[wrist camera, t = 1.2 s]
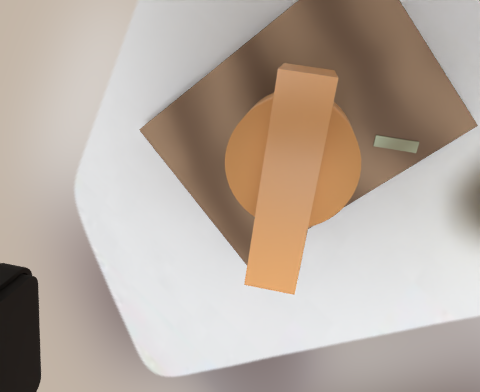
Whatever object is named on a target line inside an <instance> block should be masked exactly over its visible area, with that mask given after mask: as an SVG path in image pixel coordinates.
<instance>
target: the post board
mask: <svg viewBox="0 0 480 392" xmlns="http://www.w3.org/2000/svg"><path fill="white" fill-rule="evenodd" d="M284 63H288V64H295V65H302V66H309V67H315V68H322V69H329V70H335V72H336V74H337V76H338V83H337V88H336V93H335V98H334V102H335V103H336V104H337V105H338V106H339V107H340V108H341V109H342V111H343V112H344V113H345V115H346V116H347V118H348V120H349V122H350V124H351V127H352V129H353V132H354V134H355V137H356V139H357V142H358V145H359V149H360V153H361V173H360V178H359V182H358V185H357V187H356V189H355V192H354V194H353V195H352V197H351V198H350V200H349V201H348V203H347V204H346V205H345V206H347V205H348V204H350V203H352V202H353V201H355V200H357V199H358V198H360V197H362V196H363V195H365V194H366V193H368V192H370V191H371V190H373V189H375V188H376V187H378V186H380V185H381V184H383V183H385V182H386V181H388V180H389V179H391V178H393V177H394V176H396V175H398V174H399V173H401V172H403V171H404V170H406V169H408V168H409V167H411V166H412V165H414V164H416V163H417V162H419V161H421V160H422V159H424V158H426V157H427V156H429V155H431V154H432V153H434V152H435V151H437V150H439V149H440V148H442V147H444V146H445V145H447V144H449V143H450V142H452V141H454V140H455V139H457V138H458V137H460V136H462V135H463V134H465V133H467V132H468V131H470V130H472V129H473V128H475V127H477V126H478V125H477V124H476V122H475V120H474V119H473V117H472V116H471V114H470V112H469V111H468V109H467V108H466V106H465V104H464V103H463V101H462V100H461V98H460V96H459V95H458V93H457V92H456V90H455V88H454V87H453V85H452V84H451V82H450V80H449V79H448V77H447V76H446V74H445V73H444V71H443V69H442V68H441V66H440V65H439V63H438V61H437V60H436V58H435V57H434V55H433V53H432V52H431V50H430V49H429V47H428V45H427V44H426V42H425V41H424V39H423V37H422V36H421V34H420V33H419V31H418V29H417V28H416V26H415V25H414V23H413V21H412V20H411V18H410V17H409V15H408V13H407V12H406V10H405V9H404V7H403V6H402V4H401V2H400V1H399V0H299V1H297V2H296V3H295V4H294V5H292V6H291V7H290V8H289V9H287V10H286V11H285V12H284V13H283V14H281V15H280V16H279V17H278V18H276V19H275V20H274V21H273V22H271V23H270V24H269V25H268V26H267V27H265V28H264V29H263V30H262V31H260V32H259V33H258V34H257V35H255V36H254V37H253V38H252V39H250V40H249V41H248V42H247V43H246V44H244V45H243V46H242V47H241V48H239V49H238V50H237V51H236V52H234V53H233V54H232V55H231V56H230V57H228V58H227V59H226V60H225V61H223V62H222V63H221V64H220V65H218V66H217V67H216V68H215V69H214V70H212V71H211V72H210V73H209V74H207V75H206V76H205V77H204V78H202V79H201V80H200V81H199V82H198V83H196V84H195V85H194V86H193V87H191V88H190V89H189V90H188V91H186V92H185V93H184V94H183V95H181V96H180V97H179V98H178V99H177V100H175V101H174V102H173V103H172V104H170V105H169V106H168V107H167V108H165V109H164V110H163V111H162V112H161V113H159V114H158V115H157V116H156V117H154V118H153V119H152V120H151V121H149V122H148V123H147V124H146V125H145V126H143V127H142V128H141V129H140V131H141V133H142V134H143V135H144V136H145V138H146V139H147V140H148V141H149V143H150V144H151V145H152V146H153V148H154V149H155V150H156V151H157V153H158V154H159V155H160V157H161V158H162V159H163V160H164V162H165V163H166V164H167V165H168V167H169V168H170V169H171V170H172V172H173V173H174V174H175V175H176V177H177V178H178V179H179V180H180V182H181V183H182V184H183V185H184V187H185V188H186V189H187V190H188V192H189V193H190V194H191V196H192V197H193V198H194V199H195V201H196V202H197V203H198V204H199V206H200V207H201V208H202V209H203V211H204V212H205V213H206V214H207V216H208V217H209V218H210V219H211V221H212V222H213V223H214V224H215V226H216V227H217V228H218V229H219V231H220V232H221V233H222V235H223V236H224V237H225V238H226V240H227V241H228V242H229V243H230V245H231V246H232V247H233V248H234V250H235V251H236V252H237V253H238V255H239V256H240V257H241V258H242V260H243V261H244V262H245V263H246V265H247V264H248V258H249V252H250V245H251V239H252V232H253V226H254V219H255V217H254V216H253V215H251V214H250V213H249V212H248V211H246V210H245V209H244V208H243V207H242V205H241V204H240V203H239V202H238V201H237V199H236V198H235V196H234V195H233V193H232V191H231V189H230V186H229V184H228V181H227V177H226V172H225V154H226V148H227V145H228V142H229V139H230V137H231V135H232V133H233V131H234V129H235V128H236V126H237V125H238V123H239V122H240V121H241V120H242V119H243V118H244V116H245V115H246V114H247V113H248V112H249V111H250V110H251V108H252V107H253V106H254V105H255V104H256V103H258V102H259V101H260V100H261V99H263V98H264V97H266V96H268V95H270V94H272V93H274V91H275V85H276V78H277V72H278V68H279V67H280V66H282V65H283V64H284ZM345 206H344V207H345ZM311 227H312V226H310V227H308V229H309V228H311Z"/></svg>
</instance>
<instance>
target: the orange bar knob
mask: <svg viewBox="0 0 480 392" xmlns="http://www.w3.org/2000/svg"><path fill="white" fill-rule="evenodd" d="M337 83H338V76H337V74H336V72H335V70H329V69H322V68H315V67H309V66H302V65H295V64H288V63H284V64H283V65H282V66H280V67H279V68H278V72H277V78H276V85H275V91H274V93H272V94H270V95H268V96H266V97H264V98H263V99H261V100H260V101H259V102H258V103H256V104H255V105H254V106H253V107H252V108H251V110H250V111H249V112H248V113H247V114H246V115H245V116H244V118H243V119H242V120H241V121H240V122H239V123H238V125H237V126H236V128H235V129H234V131H233V133H232V135H231V137H230V139H229V142H228V145H227V148H226V154H225V172H226V177H227V181H228V184H229V186H230V189H231V191H232V193H233V195H234V196H235V198H236V199H237V201H238V202H239V203H240V204H241V205H242V207H243V208H244V209H245V210H246V211H248V212H249V213H250V214H251V215H253V216H254V217H255V219H254V226H253V232H252V239H251V245H250V252H249V258H248V264H247V271H246V277H245V284H244V285H249V286H254V287H259V288H264V289H269V290H274V291H279V292H284V293H289V294H295V289H296V284H297V279H298V274H299V270H300V265H301V260H302V255H303V250H304V245H305V240H306V235H307V230H308V227H310V226H314V225H317V224H319V223H322V222H324V221H326V220H328V219H330V218H331V217H333V216H334V215H335V214H337V213H338V212H339V211H340V210H341V209H342V208H343V207H344V206H345V205H346V204H347V203H348V201H349V200H350V198H351V197H352V195H353V194H354V192H355V189H356V187H357V185H358V182H359V178H360V173H361V153H360V149H359V145H358V142H357V139H356V137H355V134H354V132H353V129H352V127H351V124H350V122H349V120H348V118H347V116H346V115H345V113H344V112H343V111H342V109H341V108H340V107H339V106H338V105H337V104H336V103H335V102H334V98H335V93H336V88H337Z"/></svg>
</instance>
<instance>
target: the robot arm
mask: <svg viewBox="0 0 480 392" xmlns="http://www.w3.org/2000/svg"><path fill="white" fill-rule="evenodd" d="M38 299H39V298H38V281H37V278H36V277H34V276H32V273H31V271H30V270H29V269H28V268H25V267H20V266H15V265H10V264H5V263H0V392H36V391H37V389H38V387H39V383H40V380H41V362H40V331H39V300H38Z"/></svg>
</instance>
